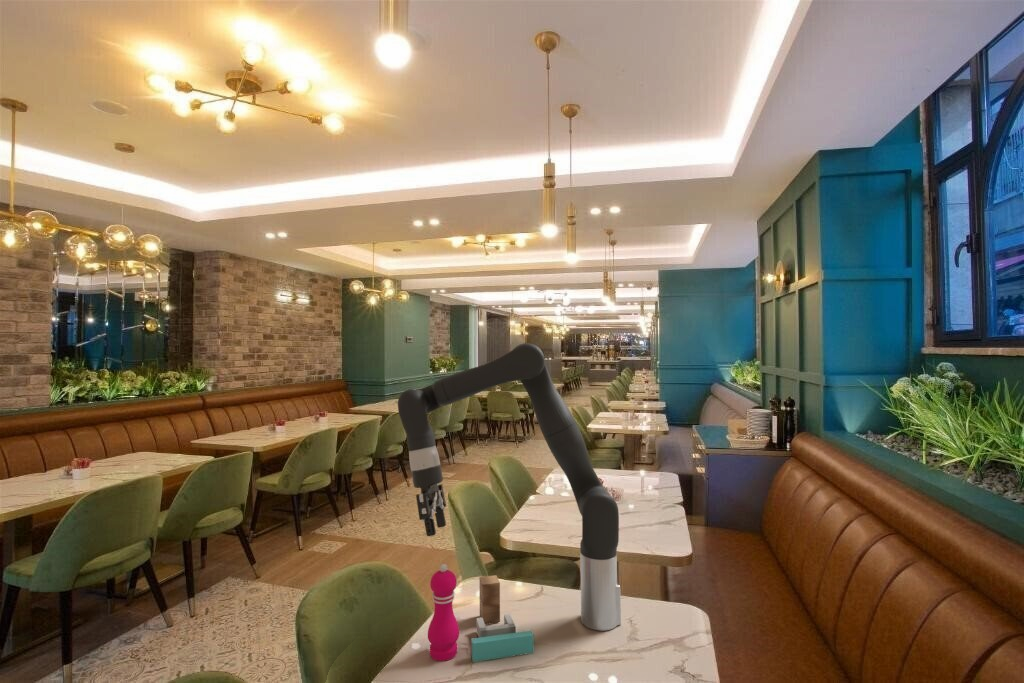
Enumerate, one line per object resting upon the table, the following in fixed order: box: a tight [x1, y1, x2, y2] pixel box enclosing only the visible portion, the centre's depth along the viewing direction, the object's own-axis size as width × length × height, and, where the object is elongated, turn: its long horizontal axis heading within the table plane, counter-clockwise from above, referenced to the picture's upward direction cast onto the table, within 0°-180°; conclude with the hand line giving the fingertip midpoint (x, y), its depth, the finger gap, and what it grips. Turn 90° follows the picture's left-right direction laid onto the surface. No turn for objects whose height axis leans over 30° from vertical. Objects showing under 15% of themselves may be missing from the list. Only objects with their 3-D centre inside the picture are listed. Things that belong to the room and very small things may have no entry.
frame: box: [476, 613, 517, 638], centre depth 119 cm, size 8×6×3 cm
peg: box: [479, 574, 501, 625], centre depth 127 cm, size 4×4×10 cm
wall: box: [471, 630, 535, 663], centre depth 112 cm, size 14×2×4 cm, turn 103°
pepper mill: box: [427, 563, 460, 662], centre depth 113 cm, size 7×7×20 cm
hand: (436, 531), depth 124 cm, fingers open, 8 cm apart
